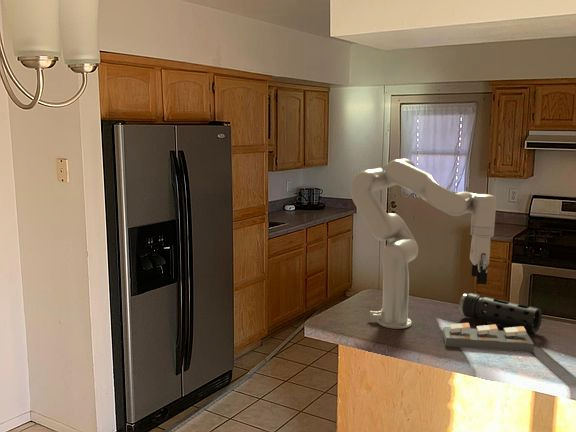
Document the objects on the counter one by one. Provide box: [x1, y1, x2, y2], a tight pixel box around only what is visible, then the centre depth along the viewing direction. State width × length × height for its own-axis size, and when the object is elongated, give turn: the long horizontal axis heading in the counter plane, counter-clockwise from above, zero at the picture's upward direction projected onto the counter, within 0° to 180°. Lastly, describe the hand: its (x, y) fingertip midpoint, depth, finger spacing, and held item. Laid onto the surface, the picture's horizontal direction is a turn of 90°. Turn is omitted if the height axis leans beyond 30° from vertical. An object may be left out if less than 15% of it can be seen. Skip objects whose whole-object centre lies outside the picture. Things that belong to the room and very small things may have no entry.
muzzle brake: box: [458, 292, 543, 336], centre depth 213 cm, size 10×28×10 cm, turn 47°
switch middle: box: [476, 324, 499, 334], centre depth 196 cm, size 6×5×2 cm
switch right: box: [503, 326, 527, 336], centre depth 194 cm, size 6×5×2 cm
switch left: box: [449, 322, 472, 333], centre depth 198 cm, size 6×5×2 cm
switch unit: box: [442, 326, 535, 354], centre depth 196 cm, size 28×11×4 cm, turn 80°
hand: (478, 279), depth 196 cm, fingers open, 9 cm apart
